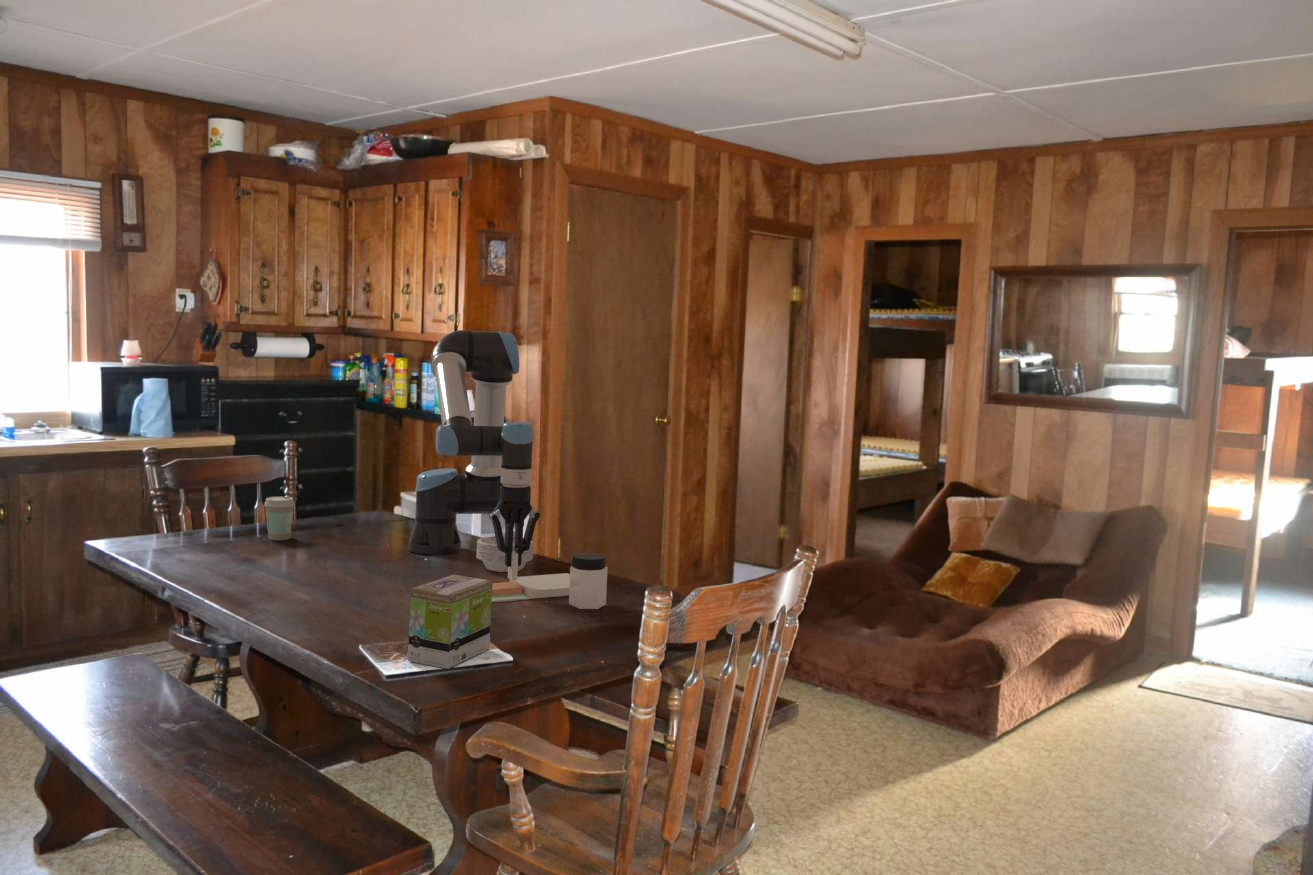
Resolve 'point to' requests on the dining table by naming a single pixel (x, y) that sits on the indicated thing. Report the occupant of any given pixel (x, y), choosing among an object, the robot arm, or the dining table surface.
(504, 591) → the tile
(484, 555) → the paper bowls
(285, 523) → the coffee cup
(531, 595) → the pale grey flat slab
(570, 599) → the jar
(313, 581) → the dining table surface
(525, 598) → the mat
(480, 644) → the tea box
